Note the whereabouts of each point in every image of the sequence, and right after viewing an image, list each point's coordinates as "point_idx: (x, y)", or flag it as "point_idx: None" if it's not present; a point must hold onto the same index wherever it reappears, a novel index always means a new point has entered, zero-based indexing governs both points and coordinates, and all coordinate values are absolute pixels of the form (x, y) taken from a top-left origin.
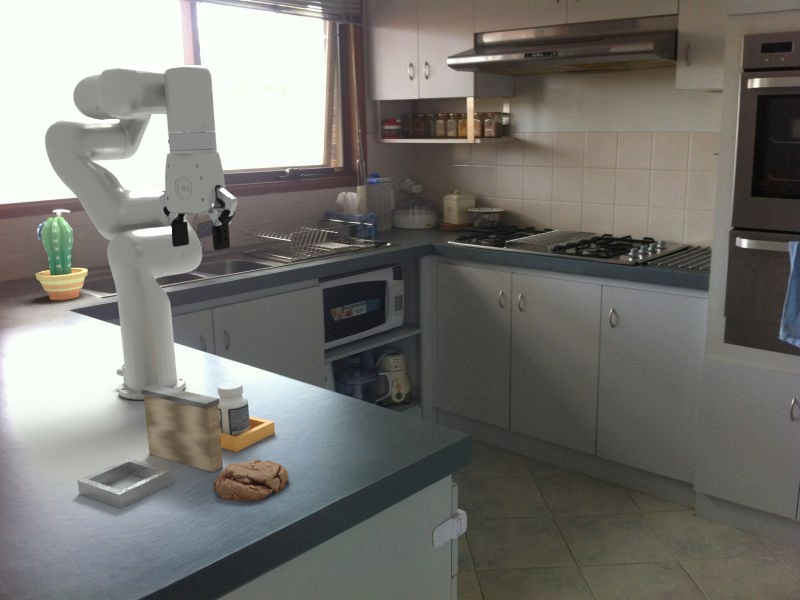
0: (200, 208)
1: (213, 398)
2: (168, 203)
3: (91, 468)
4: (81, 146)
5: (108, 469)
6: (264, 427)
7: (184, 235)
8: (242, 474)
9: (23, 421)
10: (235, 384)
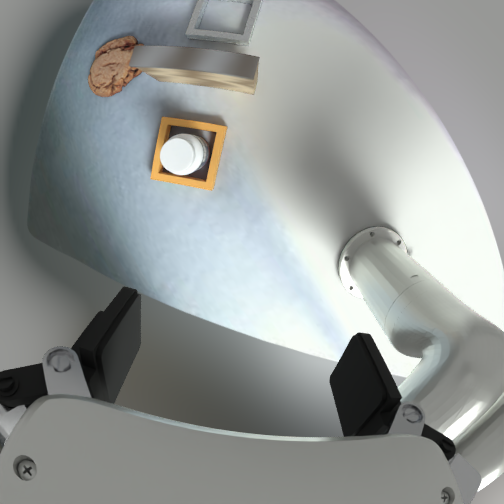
0: (74, 423)
1: (135, 63)
2: (436, 470)
3: (293, 41)
4: None
5: (250, 16)
6: (153, 162)
7: (344, 391)
8: (112, 51)
9: (443, 146)
10: (171, 161)
